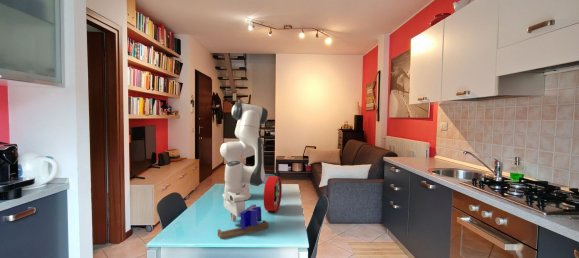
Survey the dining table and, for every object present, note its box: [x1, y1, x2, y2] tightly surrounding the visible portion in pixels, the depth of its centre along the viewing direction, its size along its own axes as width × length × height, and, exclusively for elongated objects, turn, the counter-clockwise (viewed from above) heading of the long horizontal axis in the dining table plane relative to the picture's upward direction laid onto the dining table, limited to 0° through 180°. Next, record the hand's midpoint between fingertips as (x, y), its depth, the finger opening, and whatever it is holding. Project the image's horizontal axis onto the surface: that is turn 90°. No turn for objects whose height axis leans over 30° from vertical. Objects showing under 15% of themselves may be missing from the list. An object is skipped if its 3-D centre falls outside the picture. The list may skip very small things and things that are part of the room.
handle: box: [217, 219, 269, 240], centre depth 133 cm, size 4×24×4 cm, turn 122°
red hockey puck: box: [262, 175, 283, 212], centre depth 167 cm, size 20×6×20 cm, turn 168°
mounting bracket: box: [240, 204, 263, 229], centre depth 138 cm, size 18×7×6 cm
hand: (233, 220), depth 142 cm, fingers closed
